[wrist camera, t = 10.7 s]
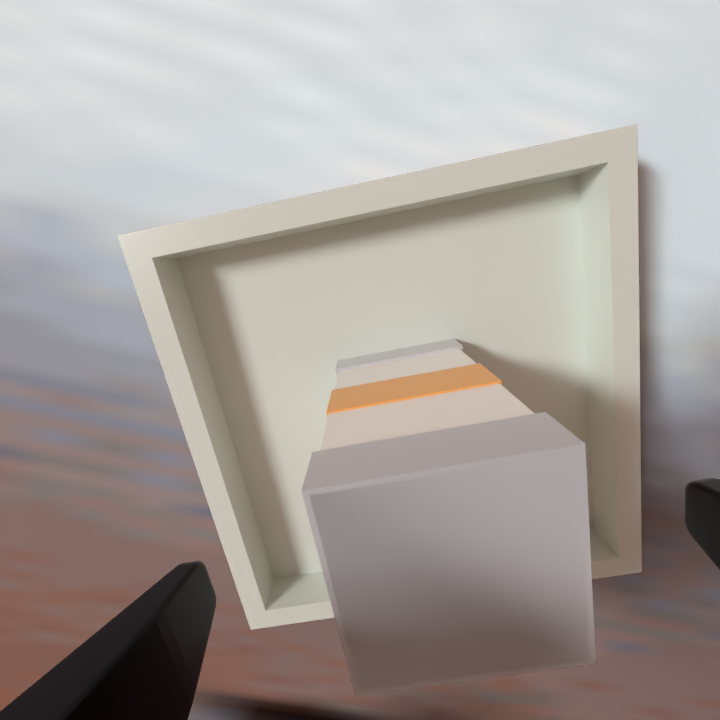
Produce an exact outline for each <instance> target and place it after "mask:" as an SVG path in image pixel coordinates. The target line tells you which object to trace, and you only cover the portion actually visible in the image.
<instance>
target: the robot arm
mask: <svg viewBox="0 0 720 720" xmlns="http://www.w3.org/2000/svg"><path fill="white" fill-rule="evenodd" d="M685 523H686V527H687V529H688V531H689V533H690V534H691V536H692V537H693V538H694V539H695V541H696V542H697V543H698V544H699V545H700V547H701V548H702V549H703V550H704V551H705V553H706V554H707V555H708V556H709V557H710V558H711V560H712V561H713V562H714V563H715V564H716V566H717V567H718V568H719V569H720V479H715V478H710V479H704V480H697V481H692V482H690V483H688V485H687V486H686V492H685ZM215 608H216V595H215V592H214V589H213V586H212V583H211V580H210V578H209V575H208V572H207V569H206V567H205V565H204V564H203V562H201V561H194V562H188V563H182V564H180V565H178V566H177V567H175V568H174V569H173V570H172V571H170V572H169V573H168V574H167V575H166V576H164V577H163V578H162V579H161V580H159V581H158V582H157V583H156V584H155V585H153V586H152V587H151V588H150V589H149V590H147V591H146V592H145V593H144V594H142V595H141V596H140V597H139V598H138V599H136V600H135V601H134V602H133V603H132V604H130V605H129V606H128V607H127V608H125V609H124V610H123V611H122V612H121V613H119V614H118V615H117V616H116V617H115V618H113V619H112V620H111V621H110V622H108V623H107V624H106V625H105V626H104V627H102V628H101V629H100V630H99V631H97V632H96V633H95V634H94V635H93V636H91V637H90V638H89V639H88V640H87V641H85V642H84V643H83V644H82V645H80V646H79V647H78V648H77V649H76V650H74V651H73V652H72V653H71V654H70V655H68V656H67V657H66V658H65V659H63V660H62V661H61V662H60V663H59V664H57V665H56V666H55V667H54V668H53V669H51V670H50V671H49V672H48V673H46V674H45V675H44V676H43V677H42V678H40V679H39V680H38V681H37V682H36V683H34V684H33V685H32V686H31V687H29V688H28V689H27V690H26V691H25V692H23V693H22V694H21V695H20V696H18V697H17V698H16V699H15V700H14V701H12V702H11V703H10V704H9V705H8V706H6V707H5V708H4V709H3V710H1V711H0V720H187V719H188V716H189V713H190V709H191V706H192V703H193V699H194V695H195V691H196V687H197V683H198V679H199V675H200V671H201V667H202V663H203V658H204V654H205V650H206V646H207V642H208V638H209V633H210V629H211V625H212V621H213V617H214V613H215Z"/></svg>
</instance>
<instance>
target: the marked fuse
mask: <svg viewBox="0 0 720 720" xmlns="http://www.w3.org/2000/svg"><path fill="white" fill-rule="evenodd" d="M335 370H336V374H337V381H336V386H335V389H334V390H332V392H331V396H330V400H329V404H328V407H327V411H326V413H327V417H328V419H327V423H326V428H325V432H324V436H323V440H322V444H321V449H320V451H315V452H312V454H311V458H310V462H309V465H308V469H307V472H306V476H305V480H304V483H303V487H302V490H301V492H302V495H303V499H304V503H305V507H306V511H307V514H308V518H309V522H310V526H311V530H312V533H313V537H314V541H315V545H316V549H317V552H318V556H319V560H320V564H321V568H322V571H323V575H324V579H325V583H326V587H327V590H328V594H329V598H330V602H331V606H332V609H333V613H334V617H335V621H336V625H337V628H338V632H339V636H340V640H341V644H342V648H343V651H344V655H345V659H346V663H347V667H348V670H349V674H350V678H351V682H352V686H353V689H354V693H355V696H358V695H366V694H373V693H381V692H388V691H396V690H403V689H411V688H418V687H426V686H433V685H441V684H449V683H456V682H464V681H471V680H479V679H486V678H494V677H501V676H509V675H517V674H524V673H532V672H539V671H547V670H554V669H562V668H569V667H577V666H584V665H592V664H596V657H595V635H594V614H593V593H592V572H591V551H590V530H589V509H588V488H587V467H586V446H585V443H584V442H582V441H581V440H580V439H579V438H577V437H576V436H575V435H574V434H572V433H571V432H570V431H569V430H567V429H566V428H565V427H564V426H562V425H561V424H560V423H559V422H557V421H556V420H555V419H554V418H552V417H551V416H550V415H549V414H547V413H546V412H542V413H536V414H535V413H534V412H532V411H531V410H530V409H529V408H528V407H527V406H525V405H524V404H523V403H522V402H521V401H520V400H518V399H517V398H516V397H515V396H514V395H513V394H511V393H510V392H509V391H508V390H507V389H506V388H505V387H503V386H502V381H501V380H500V379H499V378H498V377H496V376H495V375H494V374H493V373H492V372H490V371H489V370H488V369H487V368H485V367H484V366H483V365H482V364H481V363H475V362H474V361H473V360H472V359H471V358H470V357H468V356H467V355H466V354H465V353H464V352H463V346H462V345H461V344H460V343H459V342H457V341H456V340H455V339H448V340H443V341H438V342H432V343H427V344H421V345H416V346H411V347H405V348H400V349H394V350H389V351H384V352H378V353H373V354H367V355H362V356H357V357H351V358H346V359H340V360H338V361H337V365H336V368H335Z"/></svg>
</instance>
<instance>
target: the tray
mask: <svg viewBox="0 0 720 720" xmlns="http://www.w3.org/2000/svg"><path fill="white" fill-rule="evenodd" d="M118 239H119V242H120V245H121V248H122V251H123V254H124V257H125V260H126V262H127V265H128V268H129V271H130V274H131V277H132V280H133V283H134V286H135V289H136V292H137V295H138V298H139V301H140V304H141V307H142V310H143V313H144V316H145V319H146V322H147V324H148V327H149V330H150V333H151V336H152V339H153V342H154V345H155V348H156V351H157V354H158V357H159V360H160V363H161V366H162V369H163V372H164V375H165V378H166V381H167V384H168V386H169V389H170V392H171V395H172V398H173V401H174V404H175V407H176V410H177V413H178V416H179V419H180V422H181V425H182V428H183V431H184V434H185V437H186V440H187V443H188V446H189V448H190V451H191V454H192V457H193V460H194V463H195V466H196V469H197V472H198V475H199V478H200V481H201V484H202V487H203V490H204V493H205V496H206V499H207V502H208V505H209V508H210V510H211V513H212V516H213V519H214V522H215V525H216V528H217V531H218V534H219V537H220V540H221V543H222V546H223V549H224V552H225V555H226V558H227V561H228V564H229V567H230V570H231V572H232V575H233V578H234V581H235V584H236V587H237V590H238V593H239V596H240V599H241V602H242V605H243V608H244V611H245V614H246V617H247V620H248V623H249V626H250V629H251V630H252V629H259V628H266V627H272V626H279V625H286V624H293V623H300V622H306V621H313V620H320V619H327V618H334V613H333V609H332V606H331V602H330V598H329V594H328V590H327V587H326V583H325V579H324V575H323V571H322V568H321V564H320V560H319V556H318V552H317V549H316V545H315V541H314V537H313V533H312V530H311V526H310V522H309V518H308V514H307V511H306V507H305V503H304V499H303V495H302V492H301V490H302V487H303V483H304V480H305V476H306V472H307V469H308V465H309V462H310V458H311V454H312V452H315V451H320V449H321V444H322V440H323V436H324V432H325V428H326V423H327V419H328V417H327V413H326V411H327V407H328V404H329V400H330V396H331V392H332V390H334V389H335V386H336V381H337V374H336V370H335V368H336V365H337V361H338V360H340V359H346V358H351V357H357V356H362V355H367V354H373V353H378V352H384V351H389V350H394V349H400V348H405V347H411V346H416V345H421V344H427V343H432V342H438V341H443V340H448V339H455V340H456V341H457V342H459V343H460V344H461V345H462V346H463V352H464V353H465V354H466V355H467V356H468V357H470V358H471V359H472V360H473V361H474V362H475V363H481V364H482V365H483V366H484V367H485V368H487V369H488V370H489V371H490V372H492V373H493V374H494V375H495V376H496V377H498V378H499V379H500V380H501V381H502V386H503V387H505V388H506V389H507V390H508V391H509V392H510V393H511V394H513V395H514V396H515V397H516V398H517V399H518V400H520V401H521V402H522V403H523V404H524V405H525V406H527V407H528V408H529V409H530V410H531V411H532V412H534V413H535V414H536V413H542V412H546V413H547V414H549V415H550V416H551V417H552V418H554V419H555V420H556V421H557V422H559V423H560V424H561V425H562V426H564V427H565V428H566V429H567V430H569V431H570V432H571V433H572V434H574V435H575V436H576V437H577V438H579V439H580V440H581V441H582V442H584V443H585V446H586V467H587V488H588V509H589V530H590V551H591V572H592V579H599V578H606V577H613V576H619V575H626V574H633V573H640V572H642V534H641V433H640V332H639V231H638V130H637V124H635V125H631V126H626V127H621V128H617V129H612V130H607V131H603V132H598V133H593V134H589V135H584V136H579V137H575V138H570V139H565V140H561V141H556V142H551V143H547V144H542V145H537V146H533V147H528V148H523V149H519V150H514V151H510V152H505V153H500V154H496V155H491V156H486V157H482V158H477V159H472V160H468V161H463V162H458V163H454V164H449V165H444V166H440V167H435V168H430V169H426V170H421V171H416V172H412V173H407V174H402V175H398V176H393V177H388V178H384V179H379V180H374V181H370V182H365V183H360V184H356V185H351V186H346V187H342V188H337V189H332V190H328V191H323V192H318V193H314V194H309V195H305V196H300V197H295V198H291V199H286V200H281V201H277V202H272V203H267V204H263V205H258V206H253V207H249V208H244V209H239V210H235V211H230V212H225V213H221V214H216V215H211V216H207V217H202V218H197V219H193V220H188V221H183V222H179V223H174V224H169V225H165V226H160V227H155V228H151V229H146V230H141V231H137V232H132V233H127V234H123V235H118Z"/></svg>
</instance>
